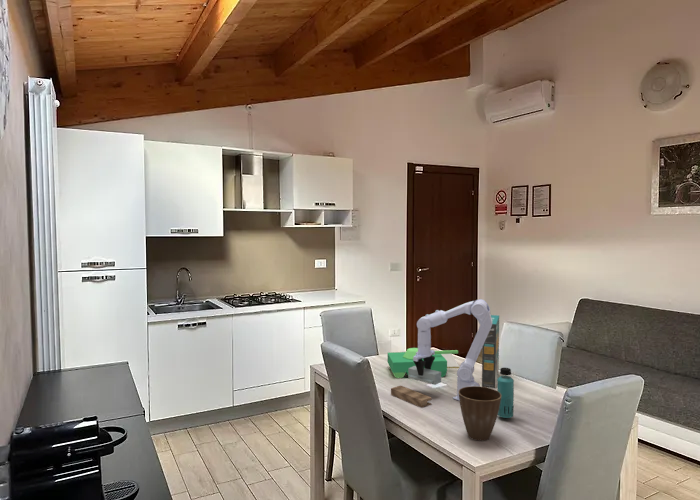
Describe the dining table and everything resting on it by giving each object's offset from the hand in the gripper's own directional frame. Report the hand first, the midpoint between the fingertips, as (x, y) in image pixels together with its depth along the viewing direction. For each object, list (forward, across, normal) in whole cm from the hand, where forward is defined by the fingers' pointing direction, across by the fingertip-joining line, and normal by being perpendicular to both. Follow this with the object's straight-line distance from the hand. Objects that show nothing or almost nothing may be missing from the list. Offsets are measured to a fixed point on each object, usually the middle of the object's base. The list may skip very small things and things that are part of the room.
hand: (424, 373), depth 221 cm
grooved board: (+9, +9, -1) cm, 13 cm away
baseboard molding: (+10, -53, -22) cm, 58 cm away
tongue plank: (+3, 0, 0) cm, 3 cm away
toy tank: (+10, -27, -18) cm, 34 cm away
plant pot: (+10, +23, +39) cm, 46 cm away
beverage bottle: (+10, +2, +39) cm, 40 cm away
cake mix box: (+10, -38, +14) cm, 41 cm away
